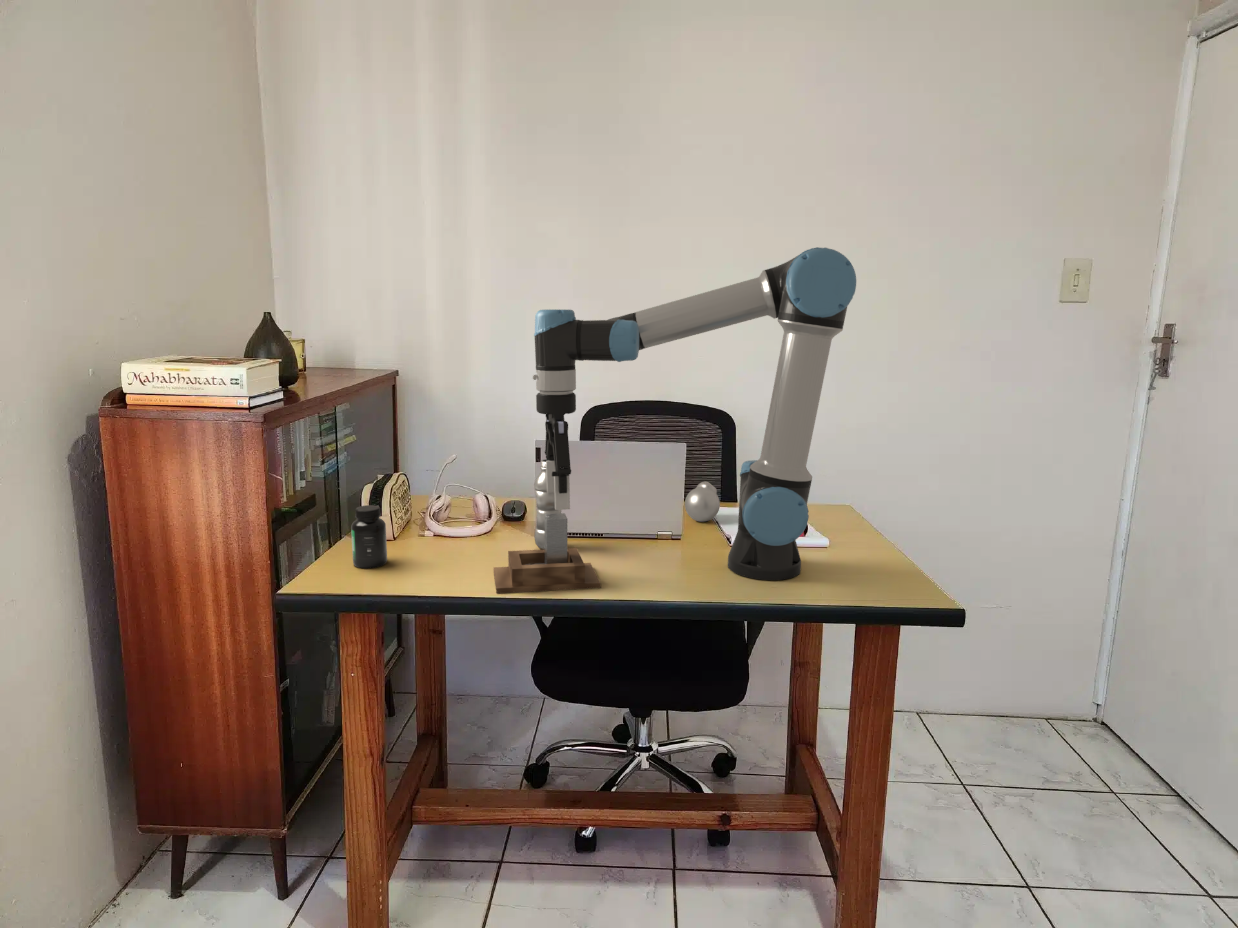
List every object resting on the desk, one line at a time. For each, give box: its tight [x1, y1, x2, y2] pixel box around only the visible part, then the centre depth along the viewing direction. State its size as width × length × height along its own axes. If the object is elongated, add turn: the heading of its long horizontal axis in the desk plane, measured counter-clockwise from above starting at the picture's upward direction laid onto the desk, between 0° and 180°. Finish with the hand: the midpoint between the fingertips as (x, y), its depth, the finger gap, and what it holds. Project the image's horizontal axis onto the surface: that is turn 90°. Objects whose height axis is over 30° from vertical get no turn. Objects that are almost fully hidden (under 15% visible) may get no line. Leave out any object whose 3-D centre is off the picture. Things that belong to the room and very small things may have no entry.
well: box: [492, 547, 601, 594], centre depth 158 cm, size 20×12×4 cm, turn 101°
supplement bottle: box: [350, 504, 388, 570], centre depth 165 cm, size 7×7×12 cm
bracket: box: [525, 512, 568, 565], centre depth 157 cm, size 8×4×12 cm, turn 101°
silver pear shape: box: [684, 480, 721, 523], centre depth 202 cm, size 9×10×10 cm
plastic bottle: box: [533, 458, 562, 550], centre depth 176 cm, size 6×7×20 cm
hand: (557, 500), depth 156 cm, fingers open, 13 cm apart
